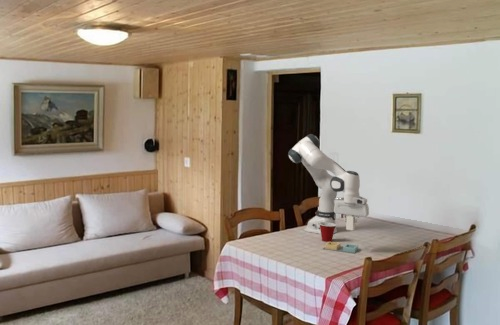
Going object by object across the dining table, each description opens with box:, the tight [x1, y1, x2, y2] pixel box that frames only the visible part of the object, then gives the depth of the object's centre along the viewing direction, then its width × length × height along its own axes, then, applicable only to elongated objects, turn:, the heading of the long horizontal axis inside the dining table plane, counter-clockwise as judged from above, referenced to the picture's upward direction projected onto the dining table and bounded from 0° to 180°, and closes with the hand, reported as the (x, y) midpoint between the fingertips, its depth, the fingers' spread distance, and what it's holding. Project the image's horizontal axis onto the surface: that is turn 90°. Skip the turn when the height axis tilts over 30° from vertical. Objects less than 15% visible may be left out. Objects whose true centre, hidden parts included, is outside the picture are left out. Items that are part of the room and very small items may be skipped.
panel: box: [322, 241, 361, 255], centre depth 307 cm, size 20×12×4 cm, turn 62°
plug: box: [345, 215, 356, 231], centre depth 302 cm, size 4×4×9 cm
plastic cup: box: [319, 222, 337, 243], centre depth 325 cm, size 11×11×12 cm
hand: (350, 222), depth 302 cm, fingers closed on plug, 4 cm apart
